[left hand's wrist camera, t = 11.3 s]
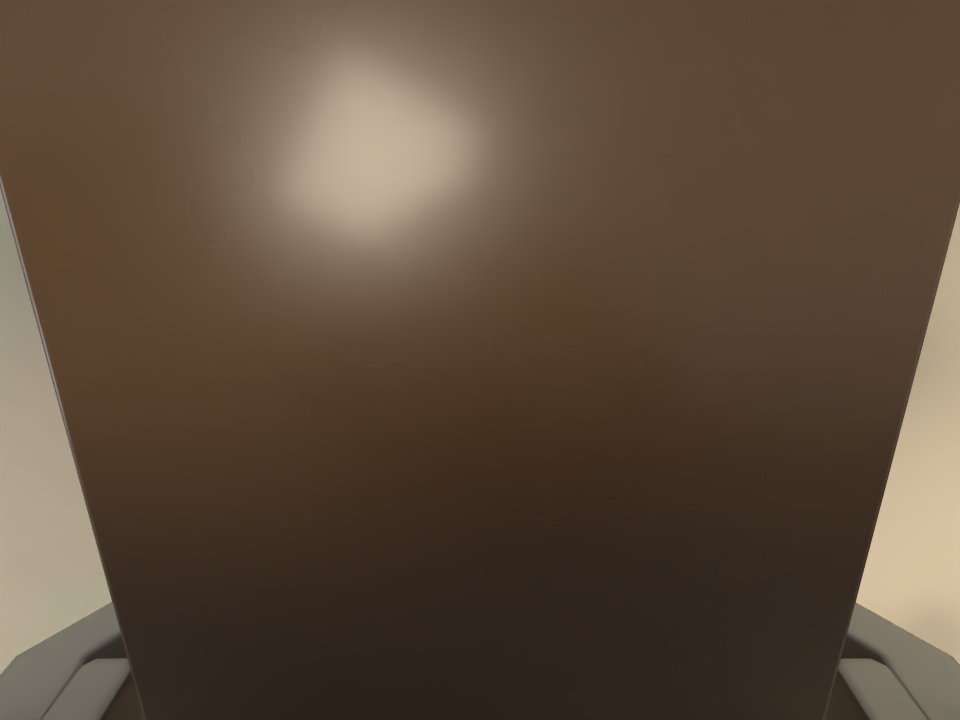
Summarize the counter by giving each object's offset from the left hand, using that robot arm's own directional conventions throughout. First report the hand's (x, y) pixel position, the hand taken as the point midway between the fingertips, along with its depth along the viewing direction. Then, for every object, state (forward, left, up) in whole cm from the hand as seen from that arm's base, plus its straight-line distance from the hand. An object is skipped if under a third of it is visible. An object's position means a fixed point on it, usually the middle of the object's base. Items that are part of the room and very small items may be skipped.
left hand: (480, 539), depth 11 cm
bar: (+6, -5, -3) cm, 9 cm away
